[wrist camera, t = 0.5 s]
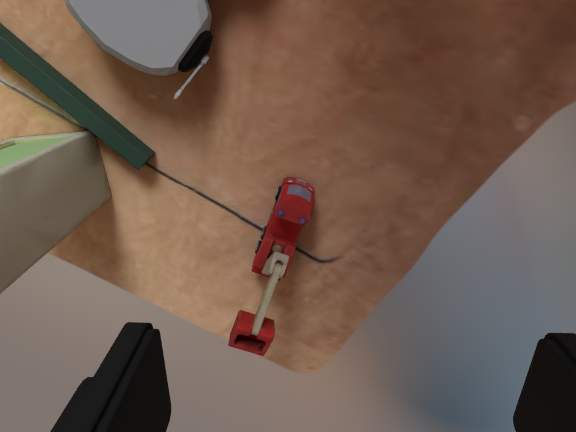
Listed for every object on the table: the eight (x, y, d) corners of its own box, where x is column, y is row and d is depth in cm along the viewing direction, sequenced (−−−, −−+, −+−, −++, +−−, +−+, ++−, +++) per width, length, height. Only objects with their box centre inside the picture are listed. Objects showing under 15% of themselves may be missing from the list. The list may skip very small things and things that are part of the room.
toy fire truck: (317, 182, 38) (322, 227, 30) (270, 296, 44) (262, 362, 35) (284, 170, 38) (279, 212, 29) (240, 286, 43) (225, 351, 35)
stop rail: (-4, 20, 33) (-21, 19, 32) (155, 152, 38) (148, 158, 36) (-12, 34, 34) (-30, 34, 32) (146, 163, 38) (138, 170, 36)
